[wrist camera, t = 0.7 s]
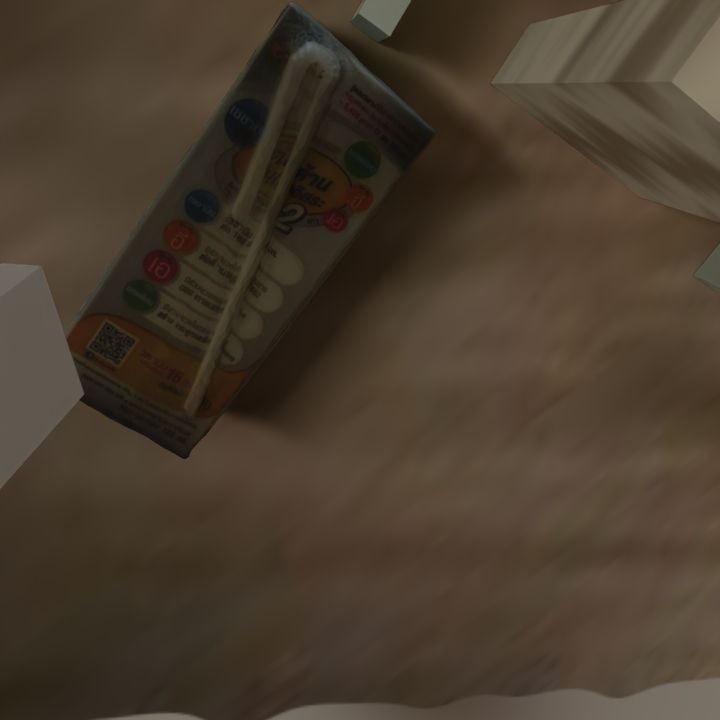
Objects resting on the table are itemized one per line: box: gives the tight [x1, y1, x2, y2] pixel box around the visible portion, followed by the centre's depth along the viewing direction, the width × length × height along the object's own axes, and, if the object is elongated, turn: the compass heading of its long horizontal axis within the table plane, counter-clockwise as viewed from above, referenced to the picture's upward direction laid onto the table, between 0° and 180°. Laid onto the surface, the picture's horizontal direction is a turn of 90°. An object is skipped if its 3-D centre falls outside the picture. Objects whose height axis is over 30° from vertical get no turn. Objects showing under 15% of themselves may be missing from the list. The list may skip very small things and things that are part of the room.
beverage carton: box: [64, 3, 435, 459], centre depth 30 cm, size 8×19×7 cm, turn 142°
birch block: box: [490, 0, 720, 223], centre depth 25 cm, size 10×3×16 cm, turn 57°
